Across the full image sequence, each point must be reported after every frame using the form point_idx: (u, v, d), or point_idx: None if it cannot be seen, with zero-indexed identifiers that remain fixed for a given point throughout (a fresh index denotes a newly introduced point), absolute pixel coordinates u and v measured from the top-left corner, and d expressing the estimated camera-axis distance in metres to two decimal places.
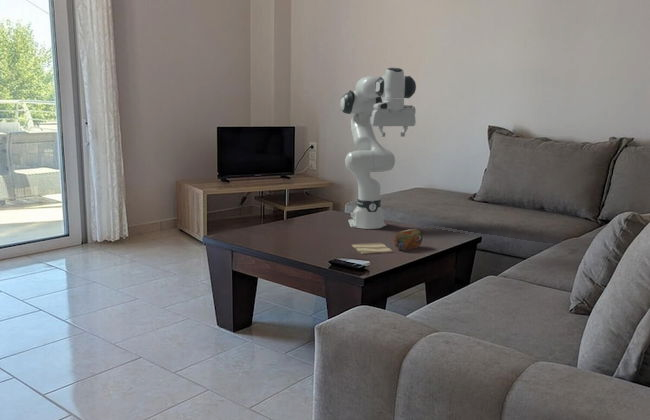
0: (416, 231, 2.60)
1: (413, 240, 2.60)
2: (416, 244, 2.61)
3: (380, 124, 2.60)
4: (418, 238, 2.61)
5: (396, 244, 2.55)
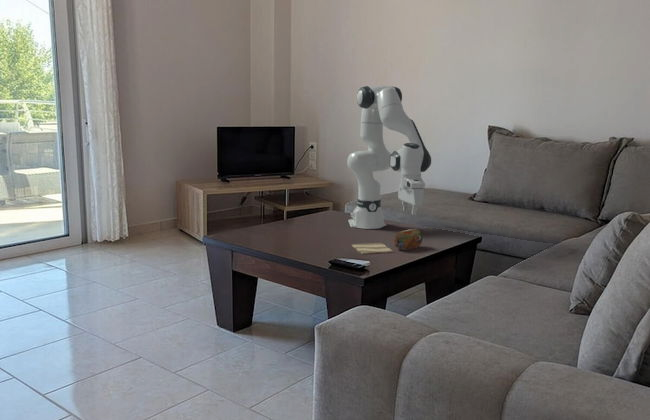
0: (416, 231, 2.60)
1: (413, 240, 2.60)
2: (416, 244, 2.61)
3: None
4: (418, 238, 2.61)
5: (396, 244, 2.55)
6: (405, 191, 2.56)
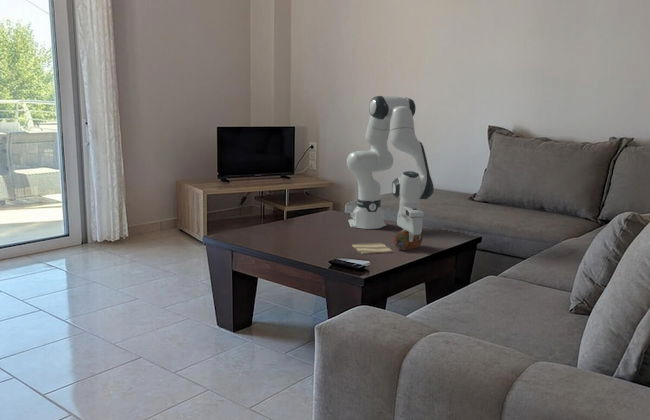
0: None
1: (413, 239, 2.60)
2: (416, 244, 2.61)
3: None
4: (418, 238, 2.61)
5: (396, 244, 2.55)
6: (404, 219, 2.59)
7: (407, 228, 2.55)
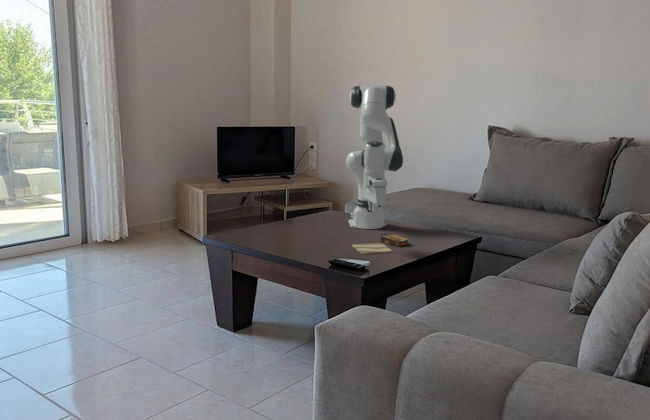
0: (405, 239, 2.67)
1: (395, 239, 2.67)
2: (394, 240, 2.64)
3: None
4: (401, 240, 2.65)
5: None
6: (368, 190, 2.54)
7: (371, 199, 2.50)
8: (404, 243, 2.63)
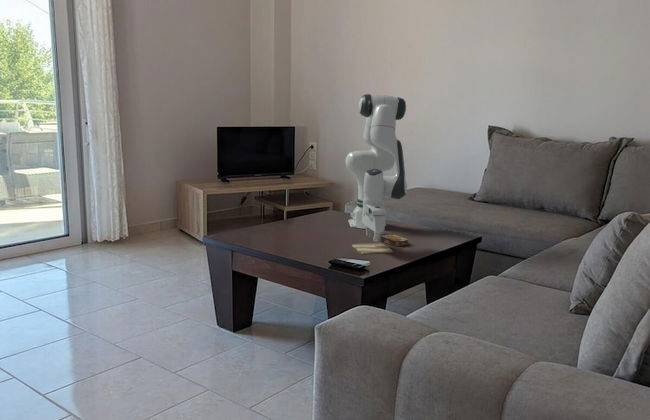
0: (405, 239, 2.67)
1: (395, 239, 2.67)
2: (394, 240, 2.64)
3: None
4: (401, 240, 2.65)
5: None
6: (368, 217, 2.57)
7: (370, 226, 2.53)
8: (404, 243, 2.63)
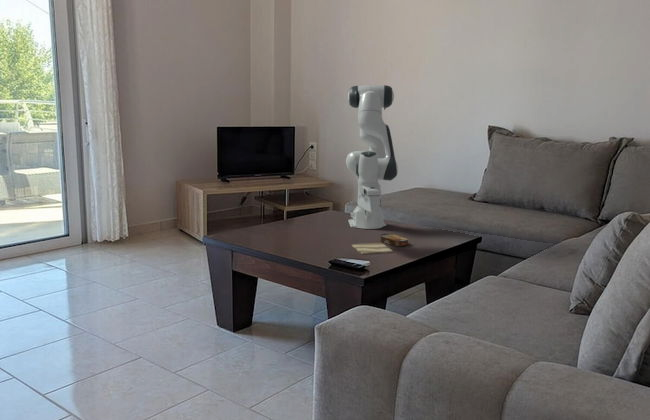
0: (405, 239, 2.67)
1: (395, 239, 2.67)
2: (394, 240, 2.64)
3: None
4: (401, 240, 2.65)
5: None
6: (363, 198, 2.62)
7: (366, 207, 2.58)
8: (404, 243, 2.63)
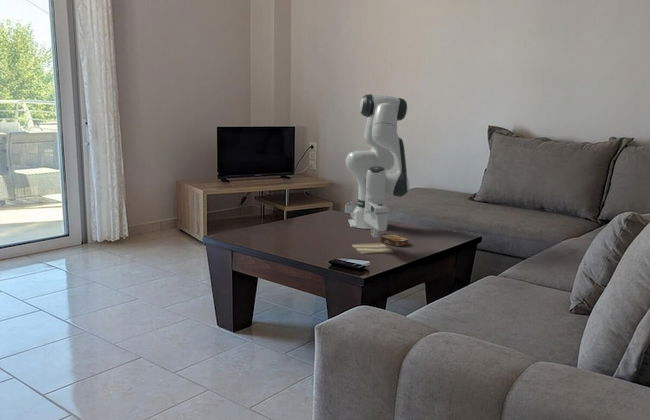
0: (405, 239, 2.67)
1: (395, 239, 2.67)
2: (394, 240, 2.64)
3: None
4: (401, 240, 2.65)
5: None
6: (370, 215, 2.53)
7: (373, 224, 2.49)
8: (404, 243, 2.63)
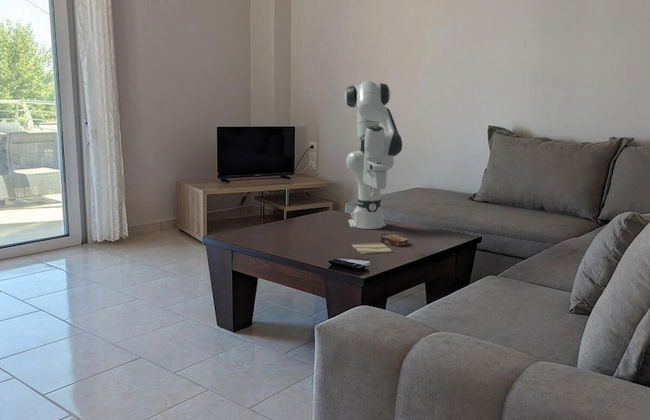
0: (405, 239, 2.67)
1: (395, 239, 2.67)
2: None
3: None
4: (401, 240, 2.65)
5: None
6: (369, 174, 2.53)
7: (371, 183, 2.49)
8: (404, 243, 2.63)
